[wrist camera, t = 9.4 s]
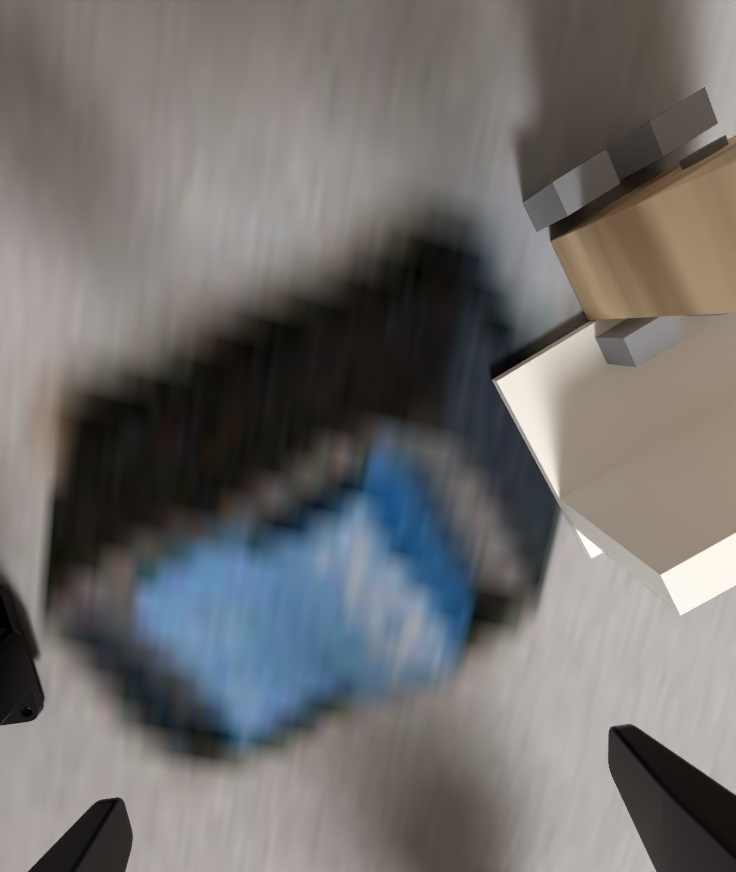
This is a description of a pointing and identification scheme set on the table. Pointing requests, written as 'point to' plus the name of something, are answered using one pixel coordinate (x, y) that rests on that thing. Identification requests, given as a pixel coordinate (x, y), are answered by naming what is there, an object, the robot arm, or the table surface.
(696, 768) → the robot arm
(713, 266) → the wooden building block
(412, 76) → the table surface
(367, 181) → the table surface
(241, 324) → the table surface
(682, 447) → the cream board with pegs
